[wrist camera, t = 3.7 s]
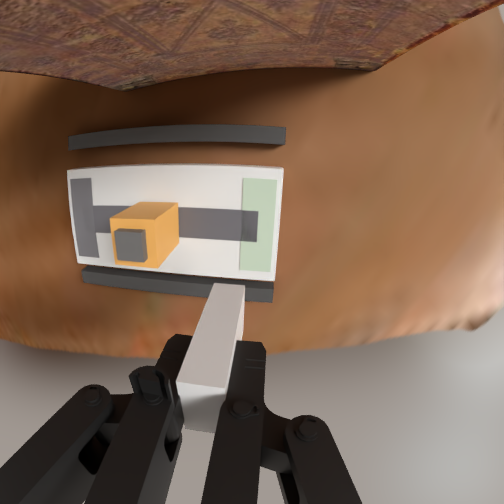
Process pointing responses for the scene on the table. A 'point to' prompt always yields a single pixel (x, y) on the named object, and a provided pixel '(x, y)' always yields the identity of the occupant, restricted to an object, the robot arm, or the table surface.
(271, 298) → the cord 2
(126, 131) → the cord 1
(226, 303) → the robot arm
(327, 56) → the book
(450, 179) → the table surface
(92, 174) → the panel
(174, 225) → the lever
